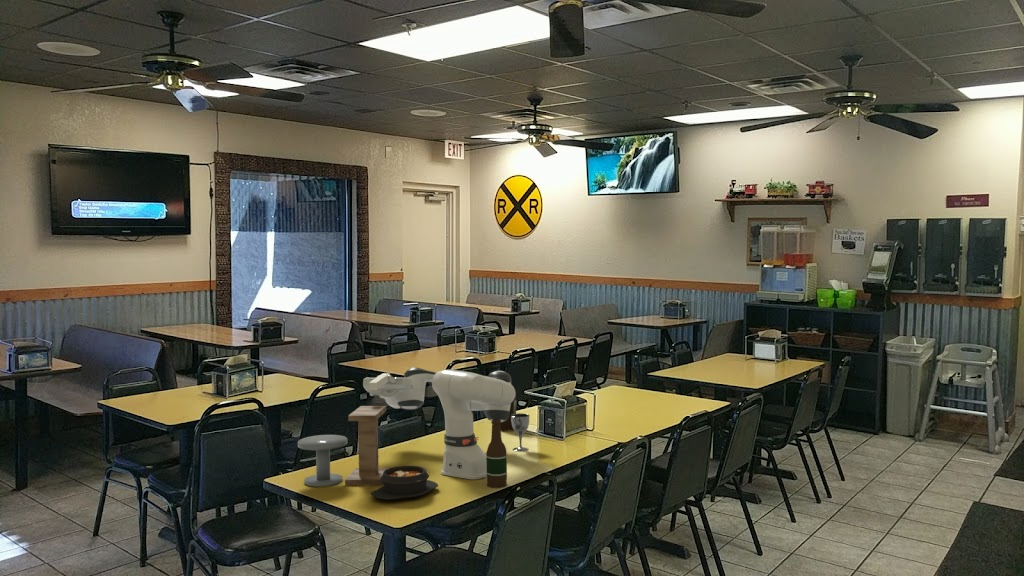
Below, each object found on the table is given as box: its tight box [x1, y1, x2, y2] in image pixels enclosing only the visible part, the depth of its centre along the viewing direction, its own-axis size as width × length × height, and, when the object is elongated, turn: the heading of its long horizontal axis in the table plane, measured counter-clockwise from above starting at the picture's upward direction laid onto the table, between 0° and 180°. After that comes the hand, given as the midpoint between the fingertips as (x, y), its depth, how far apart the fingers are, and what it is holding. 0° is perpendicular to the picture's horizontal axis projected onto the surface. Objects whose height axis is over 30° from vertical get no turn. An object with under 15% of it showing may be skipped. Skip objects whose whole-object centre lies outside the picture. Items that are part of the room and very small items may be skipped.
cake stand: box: [297, 434, 348, 488], centre depth 277 cm, size 18×18×16 cm
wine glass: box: [511, 412, 530, 452], centre depth 321 cm, size 8×8×15 cm
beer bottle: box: [486, 419, 508, 489], centre depth 270 cm, size 8×8×24 cm
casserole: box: [370, 465, 439, 501], centre depth 260 cm, size 25×19×8 cm
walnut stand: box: [344, 405, 390, 486], centre depth 279 cm, size 18×14×26 cm
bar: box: [369, 372, 391, 390], centre depth 301 cm, size 24×3×3 cm, turn 177°
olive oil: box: [500, 392, 518, 431], centre depth 361 cm, size 11×11×25 cm
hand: (383, 377), depth 309 cm, fingers closed on bar, 3 cm apart
